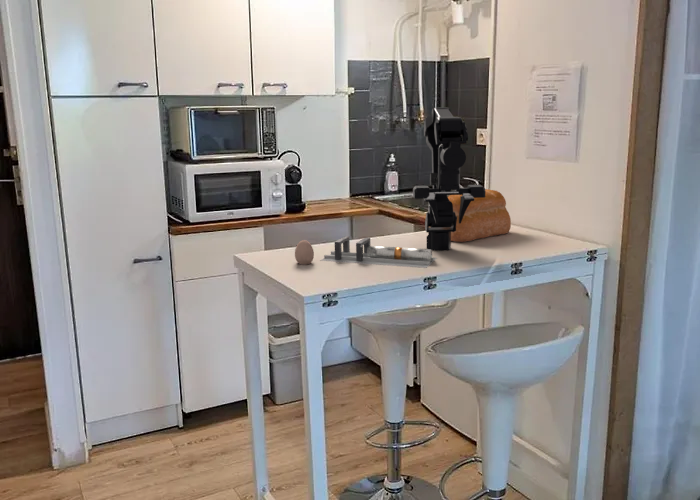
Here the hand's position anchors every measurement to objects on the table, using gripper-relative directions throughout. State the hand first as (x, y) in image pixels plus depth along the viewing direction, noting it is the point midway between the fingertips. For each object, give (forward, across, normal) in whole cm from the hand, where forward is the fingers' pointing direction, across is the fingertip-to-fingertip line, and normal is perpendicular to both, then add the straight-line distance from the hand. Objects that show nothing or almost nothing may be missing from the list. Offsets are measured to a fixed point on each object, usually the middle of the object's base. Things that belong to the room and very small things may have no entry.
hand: (448, 223), depth 179 cm
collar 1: (+11, +29, -10) cm, 33 cm away
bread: (+12, -14, -42) cm, 46 cm away
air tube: (+11, +13, -5) cm, 18 cm away
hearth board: (+12, +19, -7) cm, 23 cm away
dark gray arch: (+11, +23, -8) cm, 27 cm away
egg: (+12, +40, -4) cm, 42 cm away
